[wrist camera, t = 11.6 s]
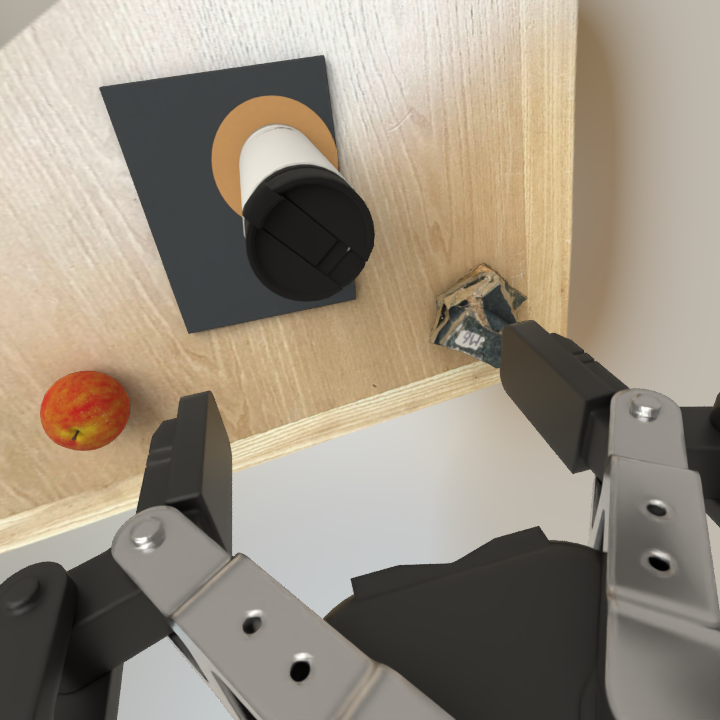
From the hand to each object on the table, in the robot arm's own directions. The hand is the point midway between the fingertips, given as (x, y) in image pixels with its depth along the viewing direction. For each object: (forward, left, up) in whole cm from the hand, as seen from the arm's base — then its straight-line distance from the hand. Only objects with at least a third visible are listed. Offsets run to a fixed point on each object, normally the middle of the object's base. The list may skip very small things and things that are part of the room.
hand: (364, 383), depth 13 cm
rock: (+17, +17, -32) cm, 40 cm away
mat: (+3, -3, -32) cm, 32 cm away
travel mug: (0, 0, -31) cm, 31 cm away
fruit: (+17, -21, -32) cm, 42 cm away
